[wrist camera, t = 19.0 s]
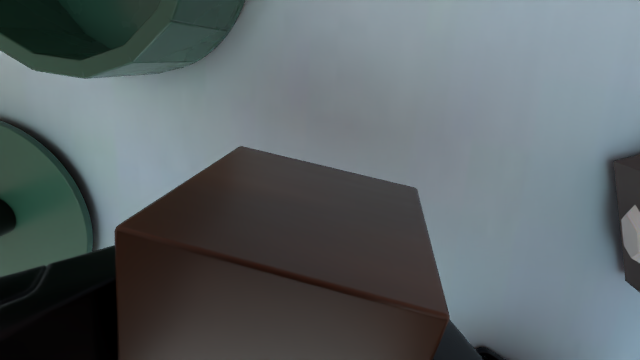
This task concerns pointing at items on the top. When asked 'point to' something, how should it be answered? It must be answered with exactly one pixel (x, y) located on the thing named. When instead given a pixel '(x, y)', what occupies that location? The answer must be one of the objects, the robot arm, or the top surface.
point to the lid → (37, 206)
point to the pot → (113, 34)
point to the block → (278, 267)
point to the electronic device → (629, 215)
